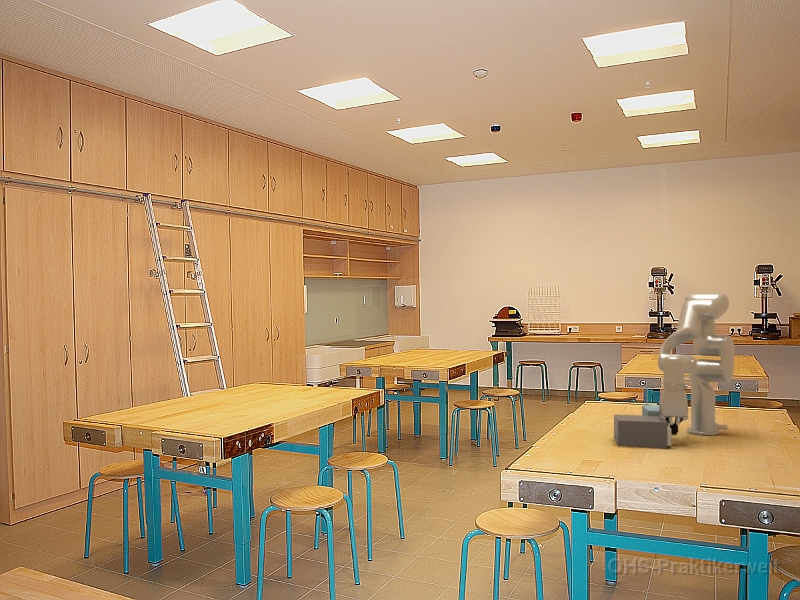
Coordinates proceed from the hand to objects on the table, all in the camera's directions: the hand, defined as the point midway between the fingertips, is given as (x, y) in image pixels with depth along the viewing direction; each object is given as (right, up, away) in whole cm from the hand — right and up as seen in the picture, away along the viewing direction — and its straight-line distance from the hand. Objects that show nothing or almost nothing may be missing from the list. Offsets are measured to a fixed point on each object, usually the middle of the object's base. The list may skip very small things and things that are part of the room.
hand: (673, 434), depth 264 cm
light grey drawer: (-11, -3, +2) cm, 11 cm away
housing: (-13, -4, +2) cm, 13 cm away
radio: (0, -5, +18) cm, 19 cm away
